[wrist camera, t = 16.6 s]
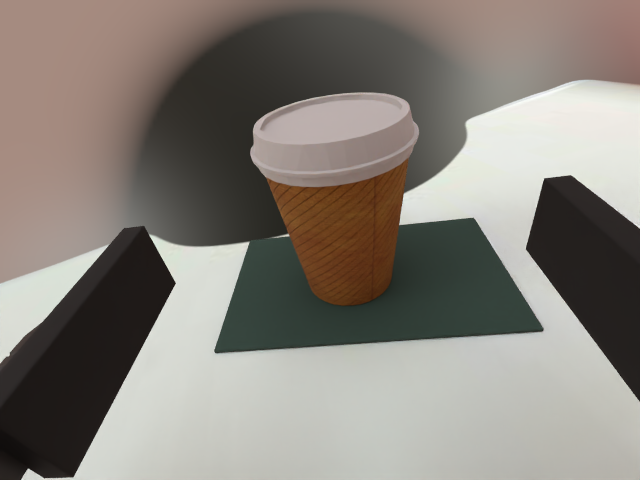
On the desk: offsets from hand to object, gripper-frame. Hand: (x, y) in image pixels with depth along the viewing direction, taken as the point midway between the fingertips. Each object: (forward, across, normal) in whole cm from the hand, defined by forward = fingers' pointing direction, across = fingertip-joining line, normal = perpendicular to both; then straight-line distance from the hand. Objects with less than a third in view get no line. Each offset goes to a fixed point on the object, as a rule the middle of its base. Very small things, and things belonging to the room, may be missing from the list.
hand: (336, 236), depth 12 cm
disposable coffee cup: (+10, 0, -11) cm, 15 cm away
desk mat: (+10, +1, -11) cm, 15 cm away
